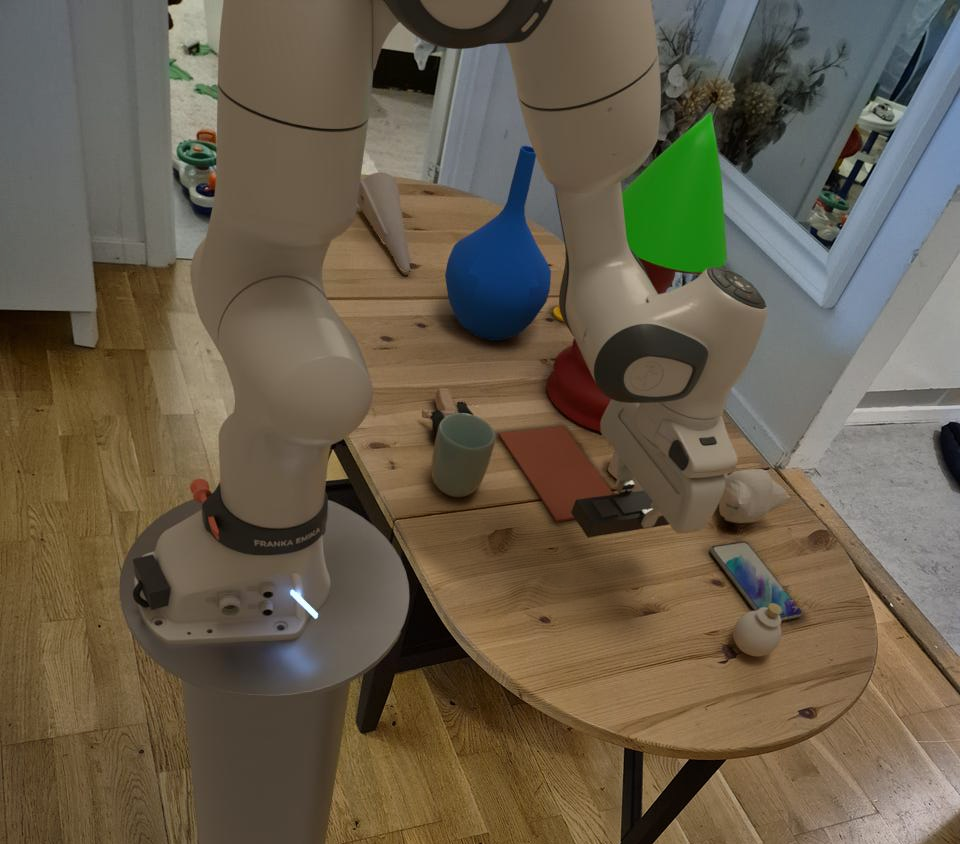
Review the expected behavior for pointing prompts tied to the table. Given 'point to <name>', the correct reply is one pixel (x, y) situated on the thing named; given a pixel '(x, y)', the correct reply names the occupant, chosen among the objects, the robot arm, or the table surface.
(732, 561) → the smartphone
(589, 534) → the remote
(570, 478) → the mat
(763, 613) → the ornament
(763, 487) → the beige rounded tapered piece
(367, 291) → the table surface
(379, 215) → the grey long tapered piece
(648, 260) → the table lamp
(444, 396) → the toy figure
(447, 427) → the cup
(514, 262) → the vase
